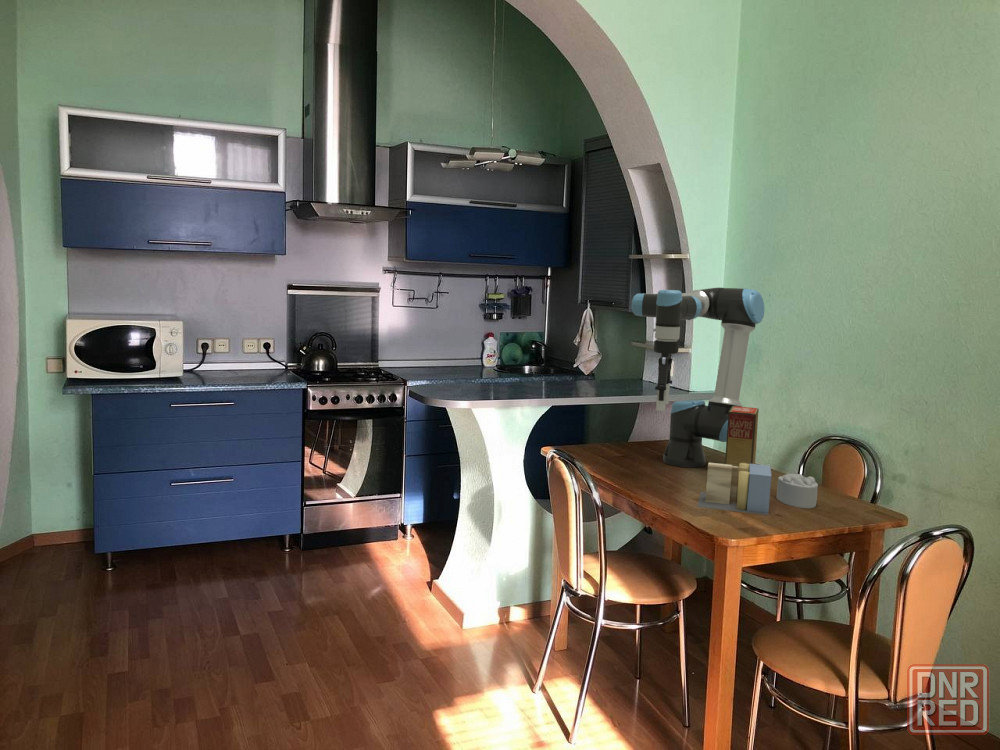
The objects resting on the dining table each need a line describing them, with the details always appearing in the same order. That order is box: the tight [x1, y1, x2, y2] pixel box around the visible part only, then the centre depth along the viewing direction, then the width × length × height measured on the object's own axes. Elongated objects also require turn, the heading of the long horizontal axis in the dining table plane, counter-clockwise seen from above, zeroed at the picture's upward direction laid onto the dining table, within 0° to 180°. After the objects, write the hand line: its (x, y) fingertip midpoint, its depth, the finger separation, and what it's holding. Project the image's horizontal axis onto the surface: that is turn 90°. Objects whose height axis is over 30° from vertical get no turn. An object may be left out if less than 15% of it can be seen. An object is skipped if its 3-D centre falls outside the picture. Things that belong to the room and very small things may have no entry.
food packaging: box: [724, 406, 759, 467], centre depth 276 cm, size 13×9×25 cm
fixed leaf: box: [736, 463, 772, 514], centre depth 249 cm, size 14×9×11 cm, turn 164°
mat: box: [697, 491, 769, 516], centre depth 252 cm, size 18×20×1 cm
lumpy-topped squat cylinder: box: [775, 473, 819, 509], centre depth 255 cm, size 10×13×9 cm
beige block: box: [705, 462, 748, 504], centre depth 252 cm, size 5×12×11 cm, turn 74°
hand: (662, 407), depth 261 cm, fingers open, 13 cm apart
